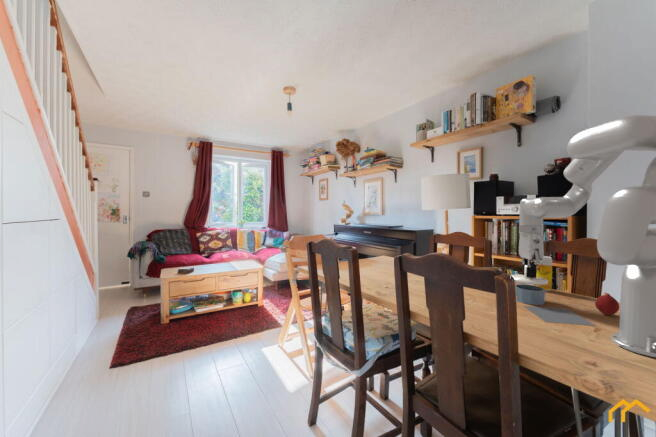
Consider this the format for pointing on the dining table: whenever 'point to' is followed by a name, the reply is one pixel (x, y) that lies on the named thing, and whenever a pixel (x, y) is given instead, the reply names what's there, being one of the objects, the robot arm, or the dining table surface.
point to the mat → (558, 315)
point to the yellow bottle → (545, 272)
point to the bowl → (530, 294)
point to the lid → (529, 279)
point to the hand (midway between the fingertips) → (528, 275)
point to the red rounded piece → (607, 304)
